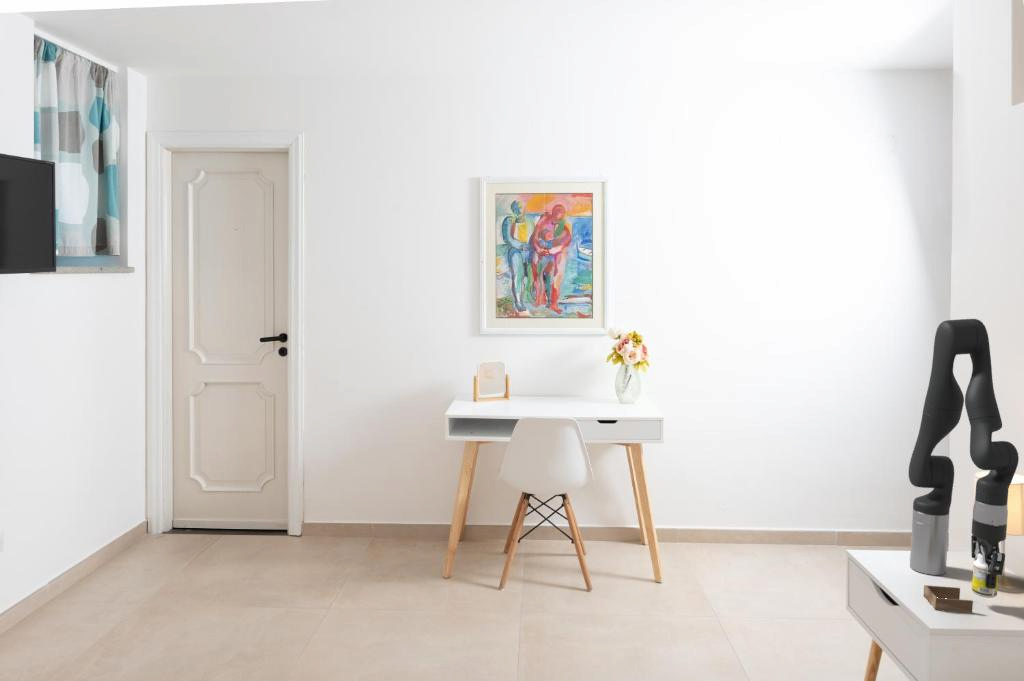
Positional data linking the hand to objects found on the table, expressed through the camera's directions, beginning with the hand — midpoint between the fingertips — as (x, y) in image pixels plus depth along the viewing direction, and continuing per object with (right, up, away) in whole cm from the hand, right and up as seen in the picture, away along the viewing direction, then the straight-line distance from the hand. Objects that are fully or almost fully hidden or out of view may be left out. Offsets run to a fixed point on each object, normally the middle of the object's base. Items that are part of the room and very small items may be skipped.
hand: (985, 582), depth 201 cm
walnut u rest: (-9, -6, +2) cm, 11 cm away
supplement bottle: (0, -3, 0) cm, 3 cm away
